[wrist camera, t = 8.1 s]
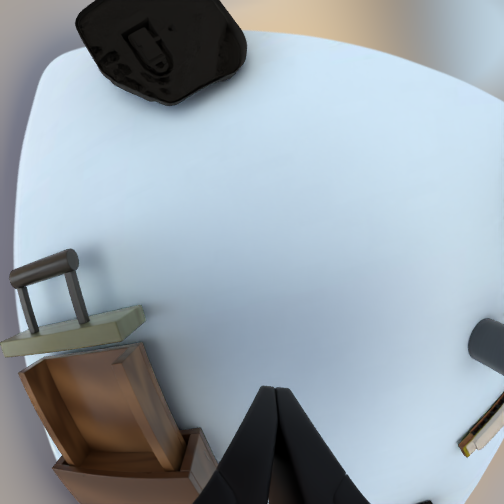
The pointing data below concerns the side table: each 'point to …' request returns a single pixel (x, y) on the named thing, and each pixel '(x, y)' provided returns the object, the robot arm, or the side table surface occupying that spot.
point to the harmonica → (484, 429)
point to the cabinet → (144, 479)
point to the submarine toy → (162, 45)
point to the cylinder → (488, 344)
